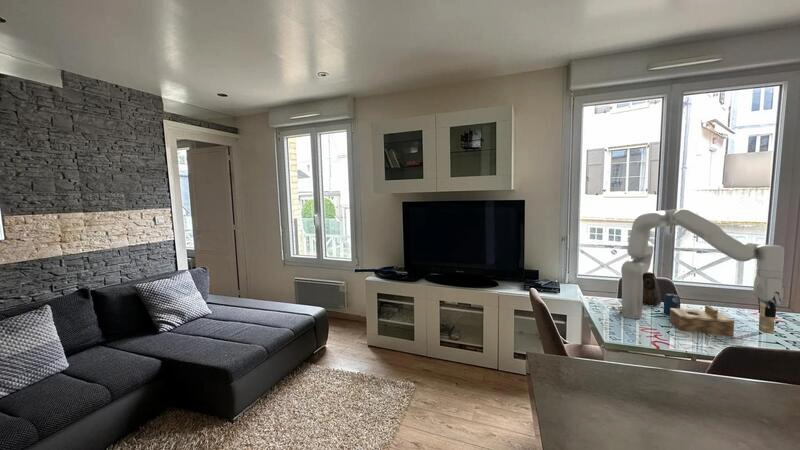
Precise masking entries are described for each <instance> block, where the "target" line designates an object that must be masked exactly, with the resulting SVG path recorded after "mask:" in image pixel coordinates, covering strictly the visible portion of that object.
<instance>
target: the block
mask: <svg viewBox="0 0 800 450" xmlns="http://www.w3.org/2000/svg"><path fill="white" fill-rule="evenodd" d="M771 301H774V300H771ZM771 303H773V302H770V304H771ZM765 307H766V301H764V300H762V299H760V313H759V319H758V320H759V321H758V331H760V332H761V333H763V334H769V335H770V334H771V335H773V334H775V333H774V332H775V319H776V317H766V316H765Z"/></svg>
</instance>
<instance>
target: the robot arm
mask: <svg viewBox="0 0 800 450" xmlns="http://www.w3.org/2000/svg"><path fill="white" fill-rule="evenodd" d="M672 226H673V227H675V226H680V227H681V228H683V229H685V230H687V231H688V232H690V233H691V234H694V235H695V236H697V237H698V238H701V239H702V240H703V241H705V242H706V243H707V244H708V245H710V246H711V247H713V248H714V249H716V250H717V251H719V252H720V253H722V254H724V255H725V256H728V257H729V258H731V259H733V260H735V261H737V262H747V261H751V260H756V269H755V271H756V273H755V277H754V282H753V287H752V288H753V289H752V295H753V296H754V297H756V298H757V299H758V300H757V301H758V313H759V314H760V299H762V300H764V301H766V307H765V316H766V317H775V318H776V316H777V315H776V313H777V308H778V306H781V304H782V303H781V302H782V301H783V295H784V294H783V290H784V289H783V278H784V264H785V263H784V261H785V247H783V246H782V245H779V244H760V243H752V242H741V241H739V240H737V239H736V238H734V237H733V236H731V235H729V234H727V233H726V232H725V231H724V230H723V229H722V228H721V226H720V225H719V224H717V223H715V222H713V221H711V220H709V219H707V218H705V217H704V216H702V215H701V214H700V213H698V211H697V210H696V209H695V208H694V209H693V208H691V207H686V208H685V207H683V208H677V209H668V210H667V209H665V210H656V211H650V212H646V213H642V214H641V215H639V216H637V217H636V218H635V219H634V221H633V222H632V226H631V231H630V234H629V238H628V239H629V240H628V245H627V249H626V251H627V254H628V256H629V257H630V259H627V260H626V261H625V262H624V263H623V264H622V265H621V271H620V272H621V304H619V306H614V305H612V306H611V307H610V308H611V310H612V311H613V310H614V311H615V312H617V314H618V315H619V314H620V315H619V316H621V317H623V316H624V318H627V319H632V320H641V318H643V319H644V318H645V317H647V316H646V313H643V304H644V303H643V278H642V274H645V273H646V272H647V271H648V272H649V270H650V268H651V263H652V259H653V253H654V245H653V244H652V242H650V237H651V230H652V229H657V228H661V227H662V228H663V227H672ZM771 300H773V301H771ZM770 302H773V303H771V304H770Z"/></svg>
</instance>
